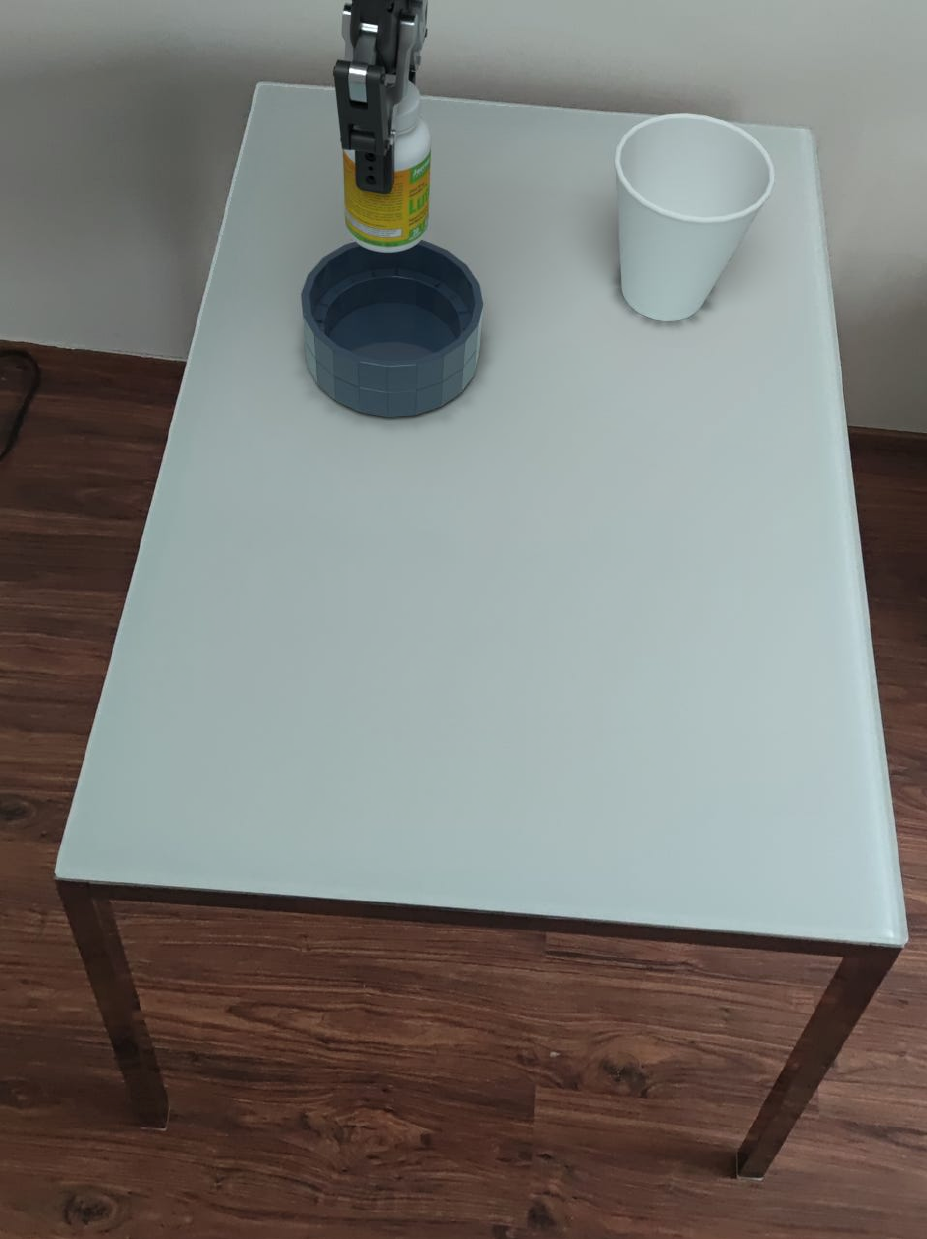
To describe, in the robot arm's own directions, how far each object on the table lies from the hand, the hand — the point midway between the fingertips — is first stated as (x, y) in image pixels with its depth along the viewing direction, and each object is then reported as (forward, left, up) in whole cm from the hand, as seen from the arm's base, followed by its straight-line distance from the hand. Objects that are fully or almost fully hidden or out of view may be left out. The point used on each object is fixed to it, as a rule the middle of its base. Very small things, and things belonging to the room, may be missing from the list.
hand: (385, 155), depth 75 cm
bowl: (0, +3, -21) cm, 21 cm away
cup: (+20, +15, -21) cm, 33 cm away
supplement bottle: (0, 0, -6) cm, 6 cm away
